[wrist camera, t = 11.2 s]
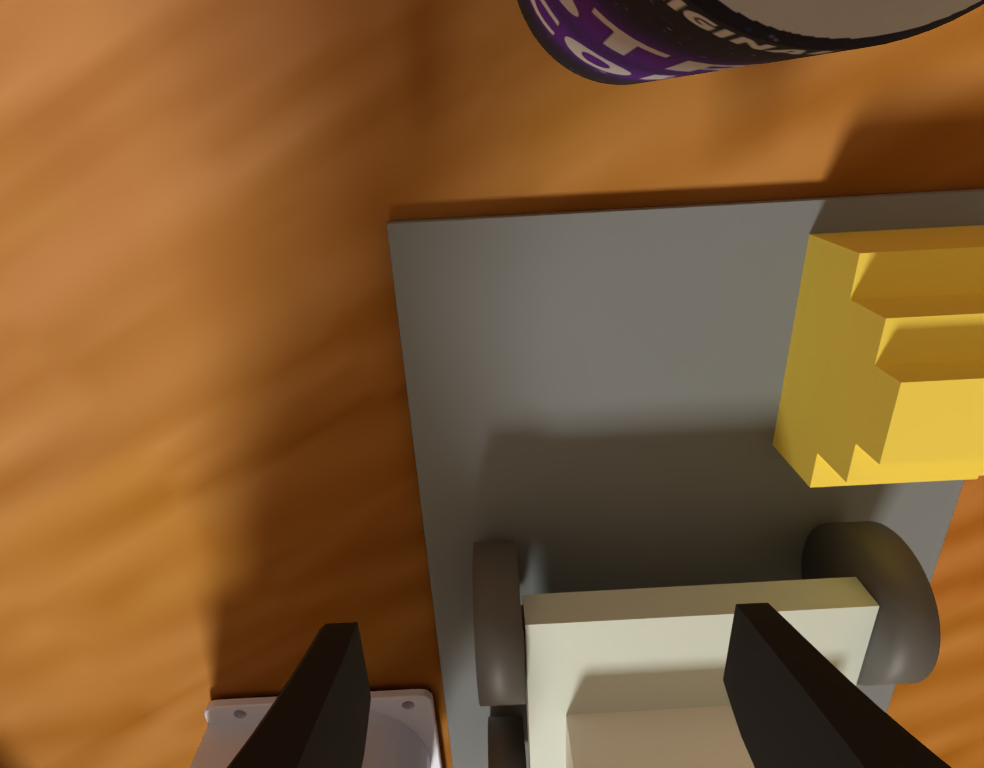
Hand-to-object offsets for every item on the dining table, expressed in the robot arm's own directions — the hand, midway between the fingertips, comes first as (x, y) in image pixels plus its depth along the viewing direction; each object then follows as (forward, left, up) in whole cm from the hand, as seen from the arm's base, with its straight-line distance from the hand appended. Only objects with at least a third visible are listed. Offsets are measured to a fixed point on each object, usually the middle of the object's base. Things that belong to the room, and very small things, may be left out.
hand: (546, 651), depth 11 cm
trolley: (+5, -10, -9) cm, 14 cm away
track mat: (+6, -6, -9) cm, 12 cm away
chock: (+11, +2, -9) cm, 14 cm away
